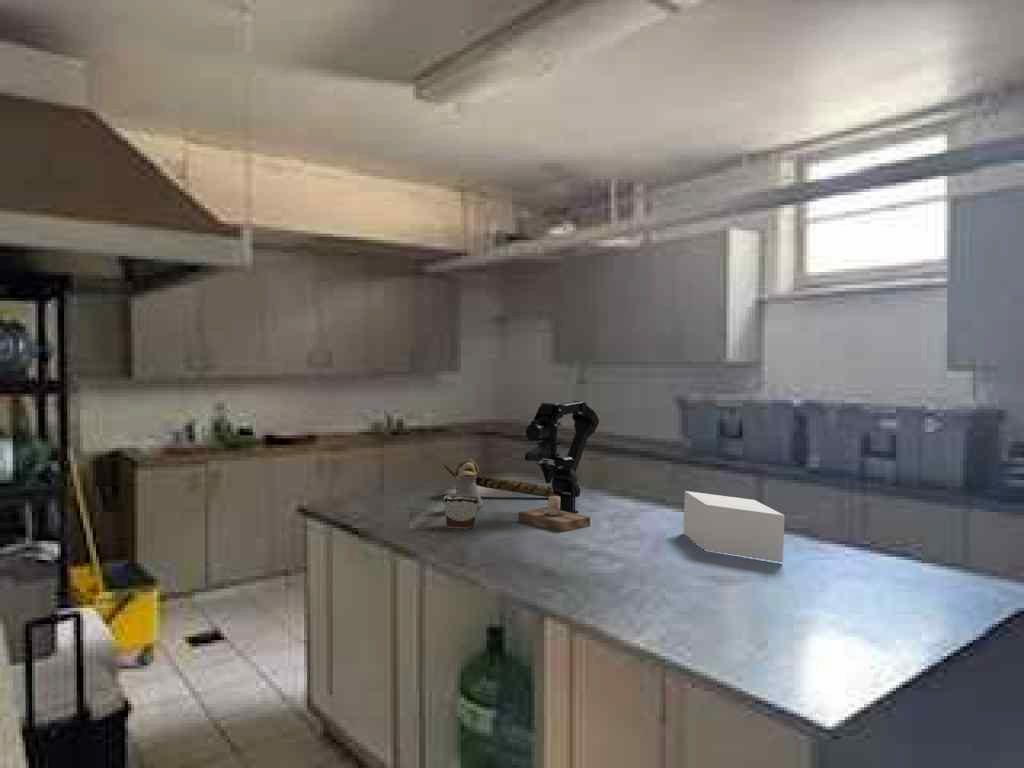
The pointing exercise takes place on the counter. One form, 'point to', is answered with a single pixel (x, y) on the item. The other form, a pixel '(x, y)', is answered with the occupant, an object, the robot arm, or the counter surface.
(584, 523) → the walnut board
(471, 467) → the decorative mallet
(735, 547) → the box
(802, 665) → the counter surface
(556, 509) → the birch peg
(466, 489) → the coffee pot
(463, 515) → the food container
